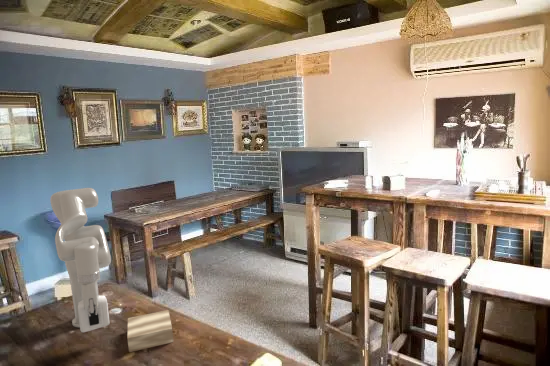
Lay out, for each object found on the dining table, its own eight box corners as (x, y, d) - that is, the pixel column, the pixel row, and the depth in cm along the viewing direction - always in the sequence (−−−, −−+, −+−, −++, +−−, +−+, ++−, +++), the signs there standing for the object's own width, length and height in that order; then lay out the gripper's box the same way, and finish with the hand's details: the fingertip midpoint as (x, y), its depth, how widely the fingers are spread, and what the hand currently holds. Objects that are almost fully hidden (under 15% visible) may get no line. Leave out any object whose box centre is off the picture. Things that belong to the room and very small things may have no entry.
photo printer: (108, 320, 151) (105, 291, 148) (110, 325, 147) (107, 295, 145) (79, 329, 145) (75, 299, 143) (81, 334, 142) (77, 303, 139)
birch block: (129, 331, 156) (127, 318, 155) (169, 323, 162) (168, 309, 161) (129, 353, 142) (127, 338, 141) (173, 342, 147) (172, 328, 146)
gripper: (78, 269, 148) (84, 312, 152) (76, 287, 133) (82, 335, 137) (99, 266, 151) (105, 308, 155) (100, 283, 136) (105, 329, 140)
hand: (94, 320), depth 146 cm, fingers closed on photo printer, 4 cm apart
